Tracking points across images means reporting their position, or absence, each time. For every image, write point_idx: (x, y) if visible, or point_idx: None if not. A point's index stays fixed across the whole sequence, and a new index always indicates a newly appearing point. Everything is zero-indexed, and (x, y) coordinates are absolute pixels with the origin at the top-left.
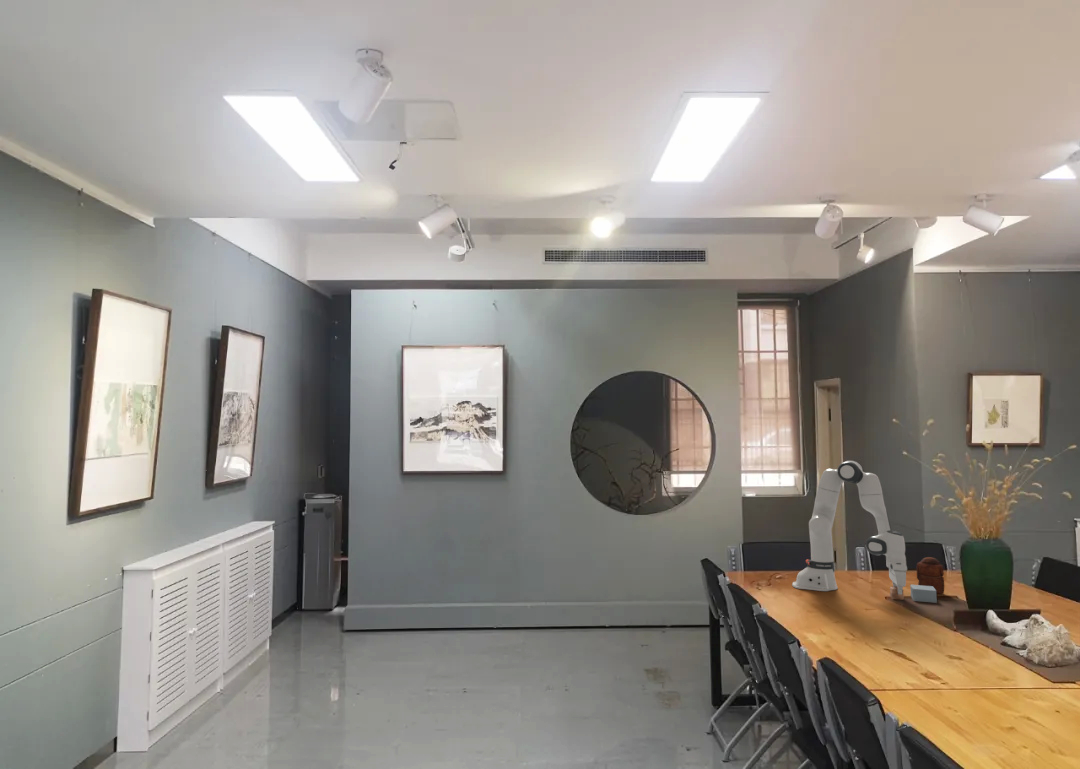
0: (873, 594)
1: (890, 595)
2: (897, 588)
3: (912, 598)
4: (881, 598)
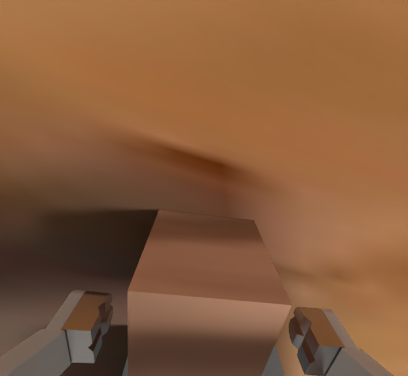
0: (348, 68)
1: (251, 226)
2: (180, 352)
3: None
4: (151, 103)
